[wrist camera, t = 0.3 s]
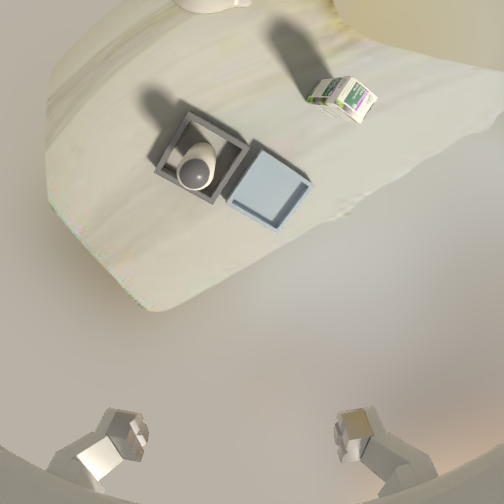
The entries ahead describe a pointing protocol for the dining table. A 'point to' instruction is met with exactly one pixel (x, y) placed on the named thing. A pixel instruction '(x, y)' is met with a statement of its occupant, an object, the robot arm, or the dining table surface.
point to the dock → (228, 173)
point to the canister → (197, 166)
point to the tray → (269, 191)
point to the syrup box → (342, 98)
